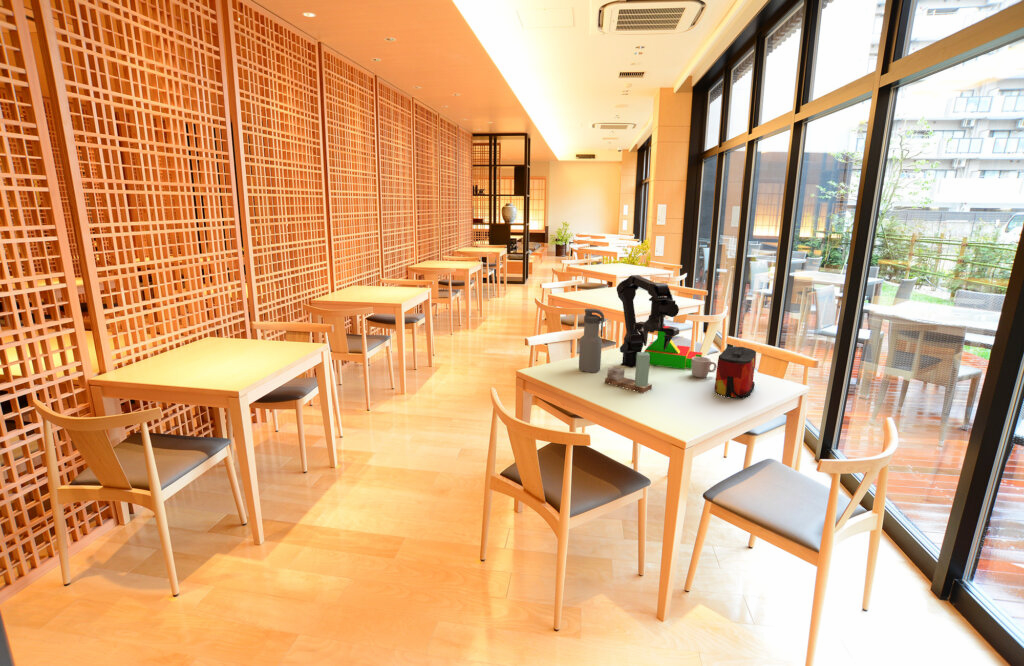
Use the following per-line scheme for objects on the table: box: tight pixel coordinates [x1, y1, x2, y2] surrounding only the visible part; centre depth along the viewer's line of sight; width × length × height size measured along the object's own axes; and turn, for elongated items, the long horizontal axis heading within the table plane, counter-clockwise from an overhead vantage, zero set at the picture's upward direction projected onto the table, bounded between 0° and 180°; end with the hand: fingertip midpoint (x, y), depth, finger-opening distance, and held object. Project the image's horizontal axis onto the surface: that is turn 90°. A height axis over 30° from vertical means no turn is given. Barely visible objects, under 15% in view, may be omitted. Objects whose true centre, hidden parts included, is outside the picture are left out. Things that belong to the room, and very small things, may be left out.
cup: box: [691, 356, 717, 379], centre depth 233 cm, size 11×8×8 cm
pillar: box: [634, 351, 650, 387], centre depth 213 cm, size 4×4×13 cm
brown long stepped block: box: [604, 366, 653, 394], centre depth 219 cm, size 18×7×6 cm, turn 48°
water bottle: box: [578, 308, 605, 373], centre depth 237 cm, size 10×10×28 cm
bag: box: [714, 346, 757, 399], centre depth 216 cm, size 30×14×16 cm, turn 148°
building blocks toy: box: [643, 325, 703, 370], centre depth 253 cm, size 19×25×18 cm
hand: (654, 347), depth 230 cm, fingers open, 9 cm apart
